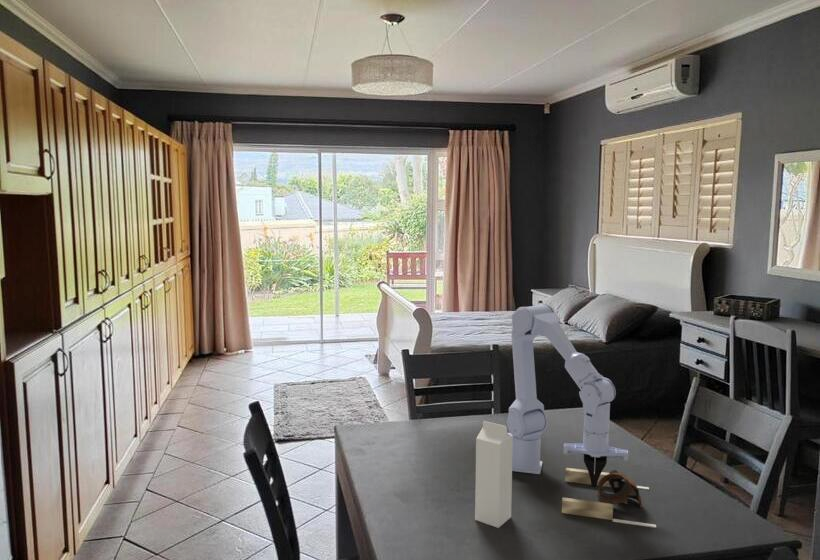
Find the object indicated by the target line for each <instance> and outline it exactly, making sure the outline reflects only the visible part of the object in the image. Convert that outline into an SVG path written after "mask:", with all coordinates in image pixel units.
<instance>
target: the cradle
mask: <svg viewBox="0 0 820 560" xmlns="http://www.w3.org/2000/svg"><path fill="white" fill-rule="evenodd" d="M609 473H610V472H607V471H606V472H603V471H602V472H601V474H600V477H599V479H598V483H599V481H600V480H601V479H602V478H603V477H604V476H606V475H608V474H609ZM594 475H595V470H594ZM564 479H565V481H564V482H567V483H568V482H569V483H574V482H575V483H576V484H583V485H590V486H591V479H590V475H589V472H588V469H579V468H571V467H566V468H565V478H564ZM598 483H597V486H598ZM606 486H607V487H608V488H611V485H610V484H609V482H608V481H607V482H605V483H604V484H603V486H602V487H606ZM607 487H606V488H607ZM561 499H562V500H561V513H562V514H565V515H566V514H567V515H568V514H569V515H575V516H582V517H590V518H596V519H603V520H611V521H613V519H614V518H613V515H614V504H608V503H601V502H599V501H592V500H585V499H578V498H570V497H562V498H561Z"/></svg>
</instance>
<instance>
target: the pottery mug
mask: <svg viewBox="0 0 820 560" xmlns="http://www.w3.org/2000/svg"><path fill="white" fill-rule="evenodd" d="M608 473H609V474H608V475H606V476H604V477H603V478H602V479H601V480H600V481H599V483H598V485H597V487H598V492H597V502H601V503H608V504H613V505H618V504H625V505H628V504H629V503H628V499H633V500H636V501H637V502H638V504H639V508H643V504H642V498H641V497H642V496H641V495H640V491H639V488H637V486H638V485H637V484H636V483H635V482H634V481H633V480H632V479H630V478H628V477H627V476H626V475H624V474H623V473H619V471H618V470H616V469H614V470H613V469H612V470H611V471H610V472H608ZM607 481H608V482H609V484H610V485H611V487H610V488H611V490H612V493H607V492H605V491H604V490H603V489H602V487H604V486H603V484H604V483H605V482H607Z"/></svg>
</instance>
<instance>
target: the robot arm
mask: <svg viewBox="0 0 820 560" xmlns="http://www.w3.org/2000/svg"><path fill="white" fill-rule="evenodd" d="M511 323H512V324H511V325H512V329H511V347H512V361H513V375H514V376H513V377H514V390H515V400H514V401H513V402H512V403H511V405H510V406H509V407H508V417H507V420H506V424H507V426H506V427H507V430H508V432H507V433H508V434H509V435H511V436H513V452H512V472H518V473H526V474H533V475H541V471H542V467H543V464H544V463H543V461H542V460H541V439H542V438H541V437H542V435H543V434H544V433H543V431H545V430H546V428H547V426H548V417H547V415H546V412H545V404H543V402H541V401H540V400H539V399H538V397H537V395H538V394H537V382H536V381H537V379H536V369H535V368H536V367H535V355H534V354H535V353H534V351H535V350H534V339H536V337H538V336H541V337H545V338H546V339H547V340H548V341H549V343H551V345H552V346H553V347H554V348H555V349H556V351H557V352H558V353H559V354H560V355H561V357H562V358H563V359H564V360H565V361H564V369H565V370H566V371H567V373H568V374H569V375H570V378H572V380H573V381H574V382H575V384H576V385H577V387H578V388H579V391H578V394H579V398H580V401H581V402H582V409H583V413H584V414H583V433H582V434H583V437H582V440H583V441H582V443H579V442H578V443H566V442H564V443H563V454H564V455H569V454H572V455H582V456H583V462H584V465H585V467H586V470H588V472H589V475H590V479H591V485H590V486H591V487H592V488H597V487H598V485H597V483H598V479H599V477H600V474H601V472H603V470H604V469H605V467H606V465H607V462H608V461H607V459H614V460H615V459H617V460H623V462H628V461H629V450H628V449H624V448H623V449H622V448H618V447H614V446H609V439H610V436H609V435H610V418H611V417H610V416H611V415H610V414H611V413H610V411H611V403H610V402H612V401H614V400H615V398H616V394H617V392H616V390H617V389H616V387H615V385H614V384H613V382H612V380H611V379H609V378H607V377H604V375H602V374H600V373H599V372H598V370H597V369H596V368H595V366H594V365H593V364H592V362H591V359H590V358H589V356H588V355H586V354H585V353H582V352H578V351H577V350H576V348H575V347H574V345H573V343H572V342H571V340H570V339H569V337H568V336H567V333H565V331H564V329H563V328H562V326H561V325H560V323H559V315H558V314H557V313H556V312H555V310H554V308H553V307H552V306H551V305H550V304H548V303H542V304H540V305H539V304H538V305H531V306H530V305H529V306H519V307H518V308H517V309H516V310H515V311H514V312H513V313H512V314H511ZM594 471H595V475H594Z"/></svg>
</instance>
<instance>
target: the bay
mask: <svg viewBox="0 0 820 560" xmlns="http://www.w3.org/2000/svg"><path fill="white" fill-rule="evenodd" d="M636 486H637V488H638V490H639V489H640V490H648V491H649V490H650V488H649V486H642V485H636ZM612 522H614V523H621V524H627V525H633V526H640V527H641V526H642V527H647V528H657V525H656V524H653V523H645V522H639V521H632V520H626V519H617V518H613V520H612Z"/></svg>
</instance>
